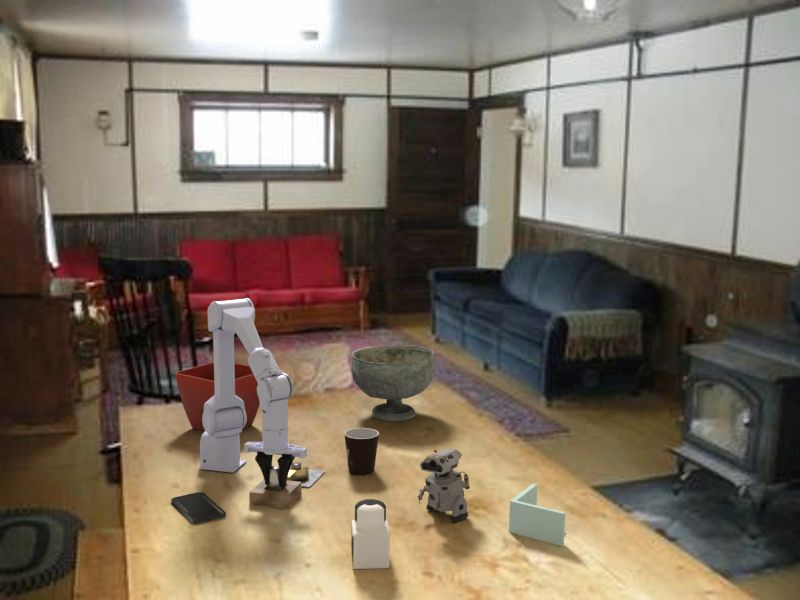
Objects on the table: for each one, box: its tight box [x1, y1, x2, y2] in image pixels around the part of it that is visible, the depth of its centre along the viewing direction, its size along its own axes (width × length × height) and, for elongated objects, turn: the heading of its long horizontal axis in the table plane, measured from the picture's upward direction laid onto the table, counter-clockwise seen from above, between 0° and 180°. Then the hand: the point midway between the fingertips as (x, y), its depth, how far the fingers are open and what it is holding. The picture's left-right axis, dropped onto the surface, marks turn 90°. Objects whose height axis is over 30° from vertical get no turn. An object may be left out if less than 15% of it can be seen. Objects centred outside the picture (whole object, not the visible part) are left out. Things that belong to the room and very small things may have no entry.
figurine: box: [417, 447, 471, 524], centre depth 187 cm, size 9×12×15 cm
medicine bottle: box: [350, 498, 391, 570], centre depth 167 cm, size 7×7×12 cm
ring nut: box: [287, 461, 310, 481], centre depth 208 cm, size 6×10×3 cm, turn 165°
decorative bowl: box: [350, 344, 436, 422], centre depth 261 cm, size 26×26×20 cm
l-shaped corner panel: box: [508, 483, 566, 547], centre depth 183 cm, size 12×12×8 cm
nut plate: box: [295, 468, 326, 489], centre depth 211 cm, size 11×11×1 cm
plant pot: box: [175, 361, 260, 432], centre depth 248 cm, size 19×19×17 cm
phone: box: [170, 491, 227, 525], centre depth 191 cm, size 8×1×15 cm
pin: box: [269, 464, 282, 491], centre depth 196 cm, size 3×3×7 cm
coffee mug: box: [344, 427, 380, 477], centre depth 216 cm, size 12×9×10 cm
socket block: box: [249, 479, 302, 510], centre depth 197 cm, size 9×9×3 cm
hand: (275, 484), depth 197 cm, fingers closed on pin, 3 cm apart
